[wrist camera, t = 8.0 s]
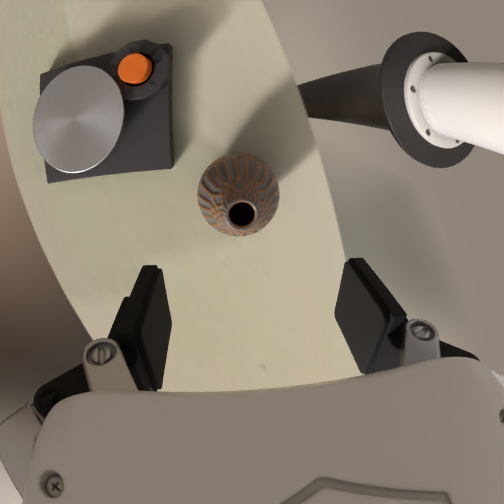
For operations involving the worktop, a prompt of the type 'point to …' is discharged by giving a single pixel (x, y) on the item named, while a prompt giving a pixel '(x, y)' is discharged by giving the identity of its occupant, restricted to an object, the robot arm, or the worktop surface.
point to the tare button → (135, 68)
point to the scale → (132, 114)
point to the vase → (238, 194)
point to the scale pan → (79, 118)
